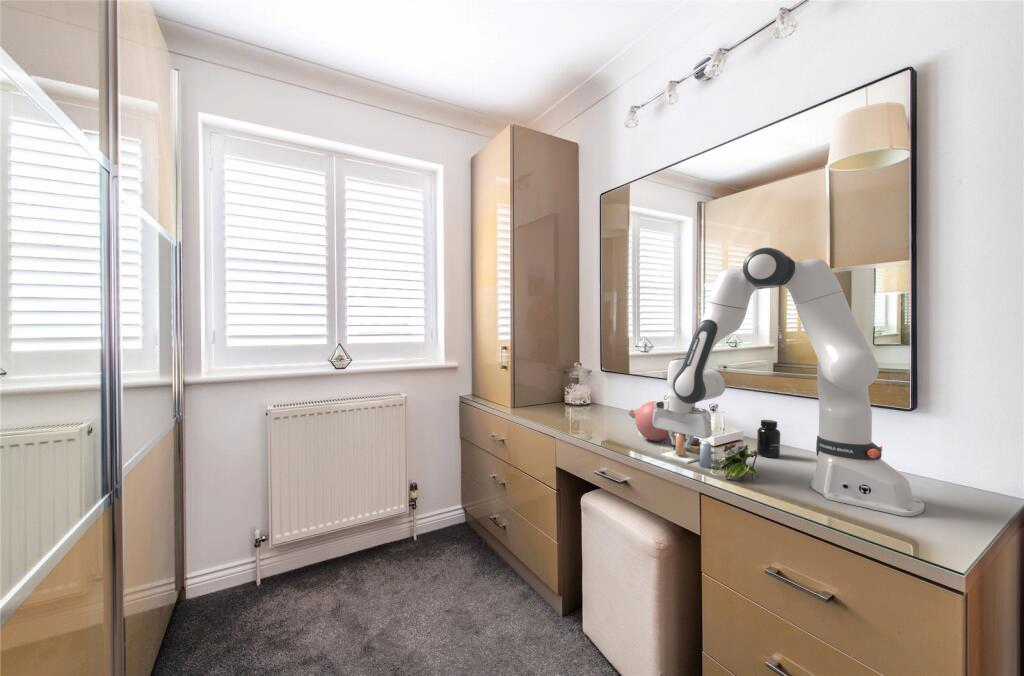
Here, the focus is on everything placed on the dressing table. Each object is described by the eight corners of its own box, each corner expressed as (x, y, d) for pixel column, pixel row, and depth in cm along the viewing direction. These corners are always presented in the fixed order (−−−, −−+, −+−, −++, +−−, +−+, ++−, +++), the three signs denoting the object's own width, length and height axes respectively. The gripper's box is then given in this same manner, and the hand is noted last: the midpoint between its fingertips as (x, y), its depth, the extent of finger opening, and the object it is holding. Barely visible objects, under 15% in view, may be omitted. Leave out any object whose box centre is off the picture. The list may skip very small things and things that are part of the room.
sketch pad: (704, 458, 142) (704, 456, 142) (687, 463, 137) (687, 461, 137) (677, 451, 151) (677, 449, 151) (660, 455, 145) (660, 453, 145)
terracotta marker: (687, 453, 143) (687, 431, 142) (682, 455, 141) (682, 432, 141) (679, 451, 145) (679, 429, 145) (673, 453, 143) (673, 430, 143)
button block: (710, 451, 150) (710, 444, 150) (697, 455, 145) (697, 448, 145) (689, 446, 157) (689, 440, 157) (677, 450, 152) (677, 443, 152)
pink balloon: (640, 431, 180) (640, 395, 179) (684, 441, 164) (684, 401, 164) (617, 437, 170) (618, 399, 170) (662, 448, 155) (662, 406, 154)
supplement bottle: (776, 459, 141) (776, 424, 140) (753, 455, 146) (754, 420, 146) (782, 455, 145) (783, 421, 145) (761, 451, 150) (761, 418, 150)
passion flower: (729, 490, 128) (735, 453, 134) (766, 494, 120) (771, 455, 125) (708, 474, 124) (715, 436, 129) (745, 477, 115) (751, 437, 120)
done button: (701, 447, 151) (701, 438, 151) (695, 448, 149) (695, 440, 148) (691, 445, 154) (691, 436, 153) (686, 446, 151) (686, 438, 151)
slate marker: (713, 466, 133) (713, 442, 133) (707, 468, 132) (707, 443, 131) (703, 464, 136) (703, 440, 136) (697, 466, 134) (698, 441, 134)
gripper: (715, 409, 136) (715, 451, 136) (661, 400, 153) (660, 438, 153) (705, 411, 132) (704, 454, 133) (650, 402, 149) (649, 440, 149)
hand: (680, 445), depth 143 cm, fingers closed on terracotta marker, 3 cm apart
